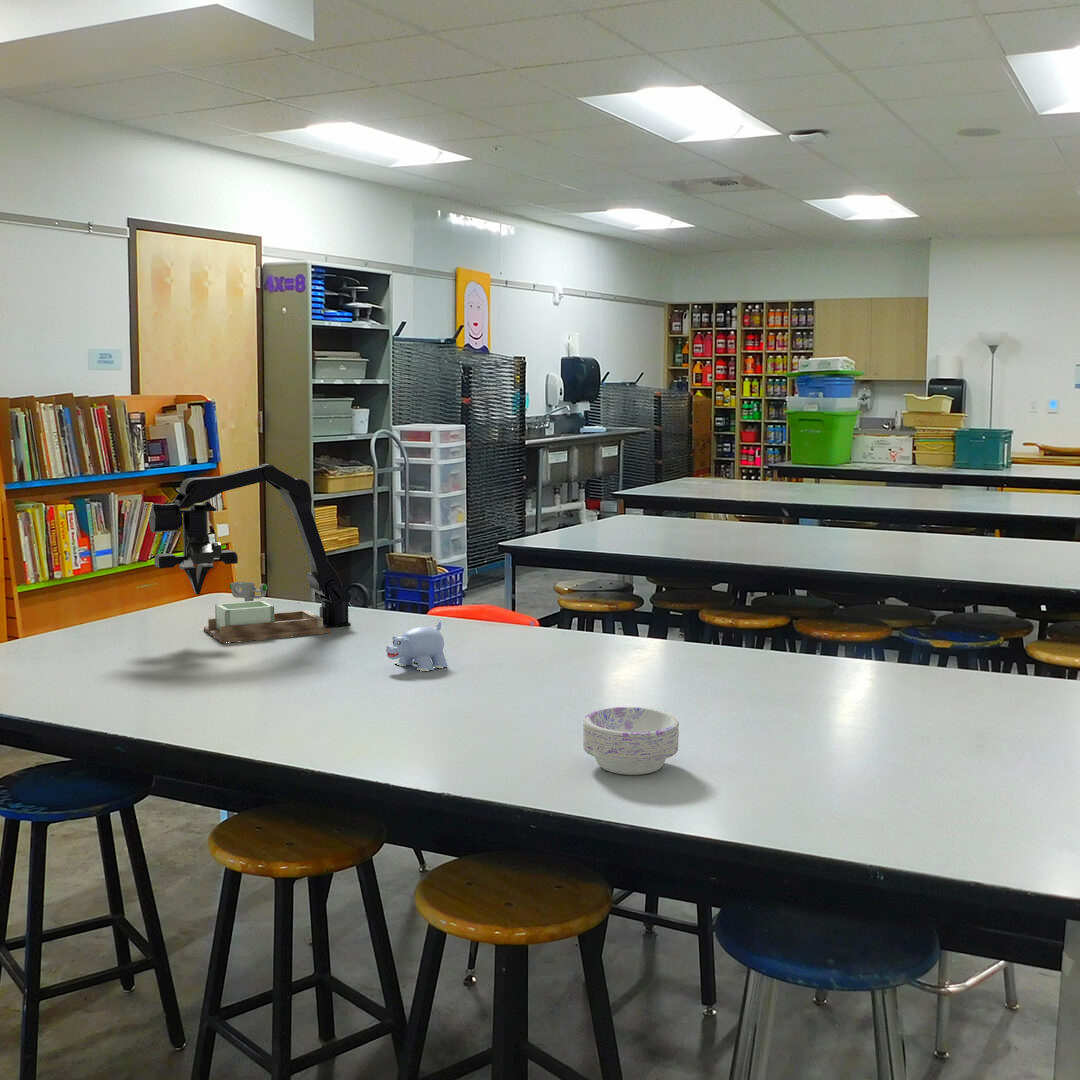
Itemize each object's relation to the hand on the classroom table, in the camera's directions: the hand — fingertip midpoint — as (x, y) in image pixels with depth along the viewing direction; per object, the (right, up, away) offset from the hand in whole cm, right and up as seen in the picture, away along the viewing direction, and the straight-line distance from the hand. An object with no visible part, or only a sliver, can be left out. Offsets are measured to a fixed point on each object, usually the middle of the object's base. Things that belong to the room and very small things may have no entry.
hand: (197, 594), depth 279 cm
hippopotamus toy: (+56, -15, -27) cm, 64 cm away
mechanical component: (+6, -8, +25) cm, 27 cm away
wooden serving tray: (+15, -10, +10) cm, 20 cm away
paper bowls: (+98, -23, -96) cm, 139 cm away
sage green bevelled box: (+10, -9, +7) cm, 15 cm away
